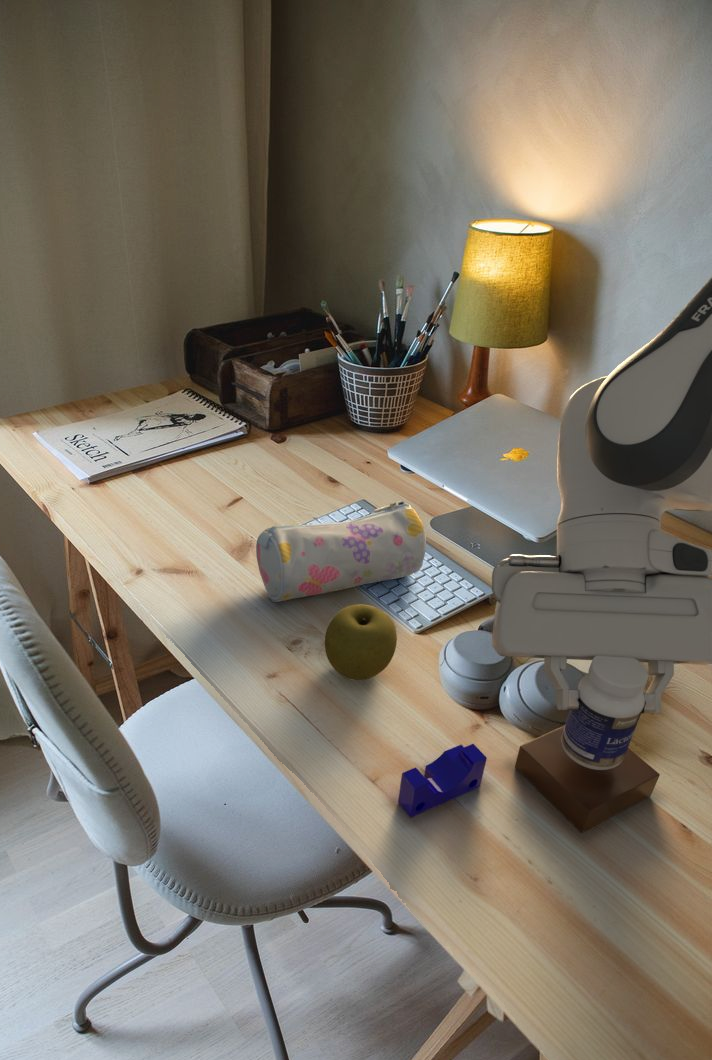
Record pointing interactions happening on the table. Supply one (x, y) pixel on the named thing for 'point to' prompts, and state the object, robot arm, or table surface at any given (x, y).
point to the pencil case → (341, 553)
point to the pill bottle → (605, 712)
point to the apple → (360, 641)
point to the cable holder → (442, 779)
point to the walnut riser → (584, 781)
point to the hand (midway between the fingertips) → (608, 712)
